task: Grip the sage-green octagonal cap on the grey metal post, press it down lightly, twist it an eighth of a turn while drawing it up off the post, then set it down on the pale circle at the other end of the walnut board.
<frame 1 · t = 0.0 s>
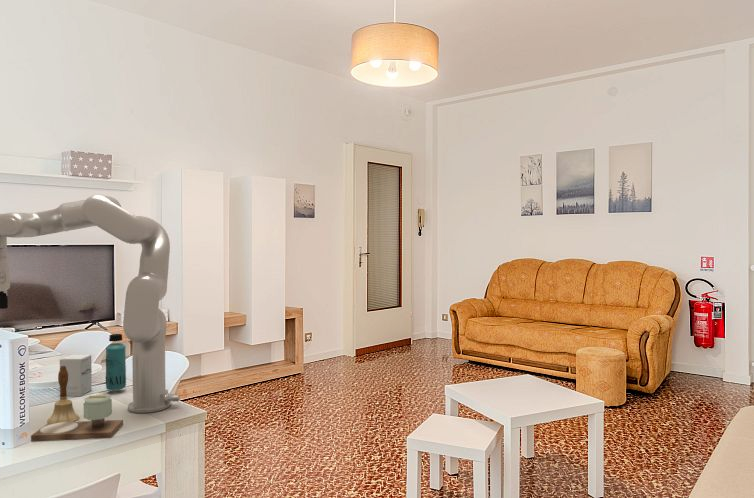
board: (78, 432, 153), on the table
supplement box: (76, 393, 190), on the table
cap: (97, 415, 153), point 4 cm above the table, touching post
post: (98, 431, 154), resting on board
hand bell: (63, 420, 163), on the table
beverage bottle: (116, 392, 192), on the table
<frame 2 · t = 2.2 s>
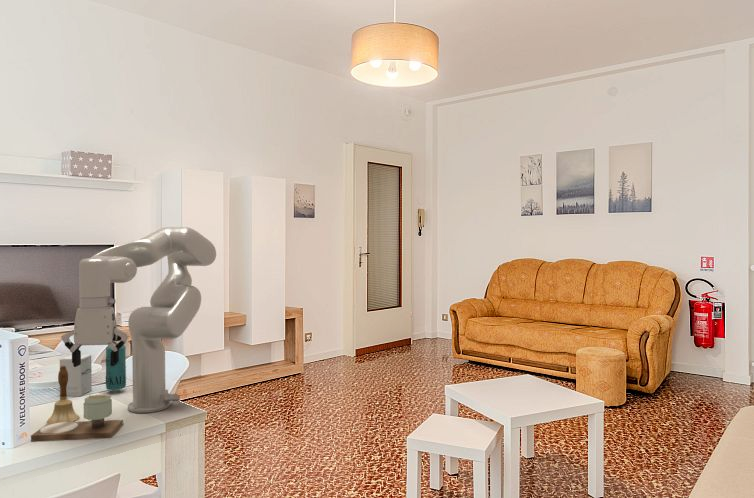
hand: (95, 365, 153), 18 cm above the table, tool pointing down, fingers open, 9 cm apart
nothing on the table moved.
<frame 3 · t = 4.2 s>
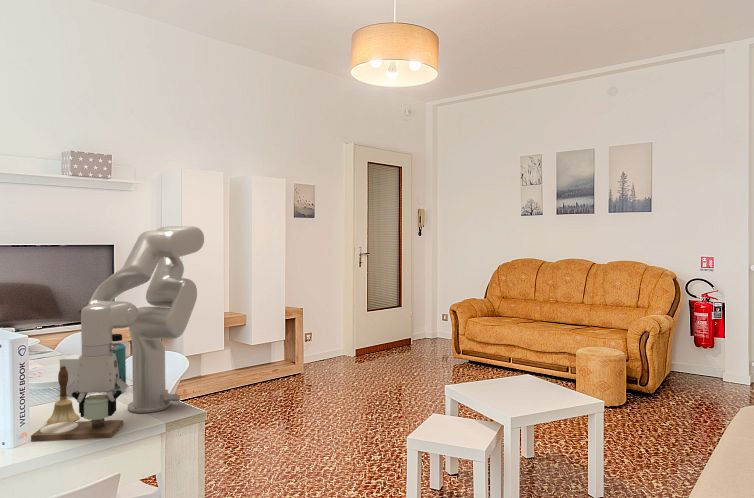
hand: (97, 414, 153), 5 cm above the table, tool pointing down, fingers closed on cap, 6 cm apart
cap: (97, 415, 153), point 5 cm above the table, touching gripper, post
everything else where it was.
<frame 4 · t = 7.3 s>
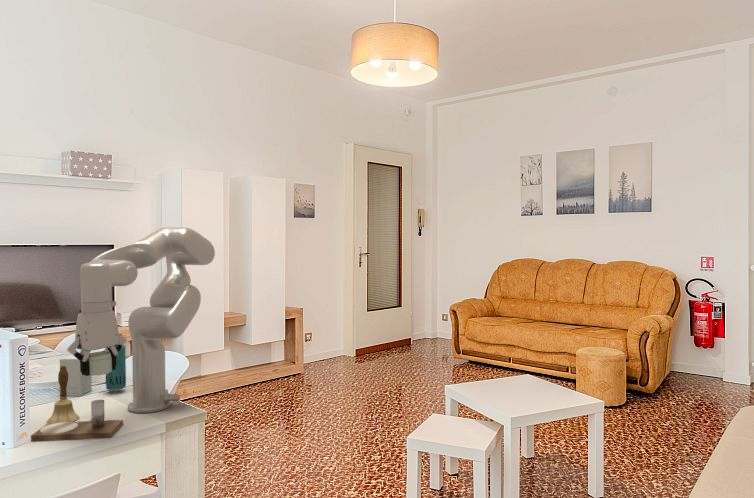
hand: (98, 371, 154), 17 cm above the table, tool pointing down, fingers closed on cap, 6 cm apart
cap: (98, 372, 154), point 16 cm above the table, touching gripper
everything else where it was.
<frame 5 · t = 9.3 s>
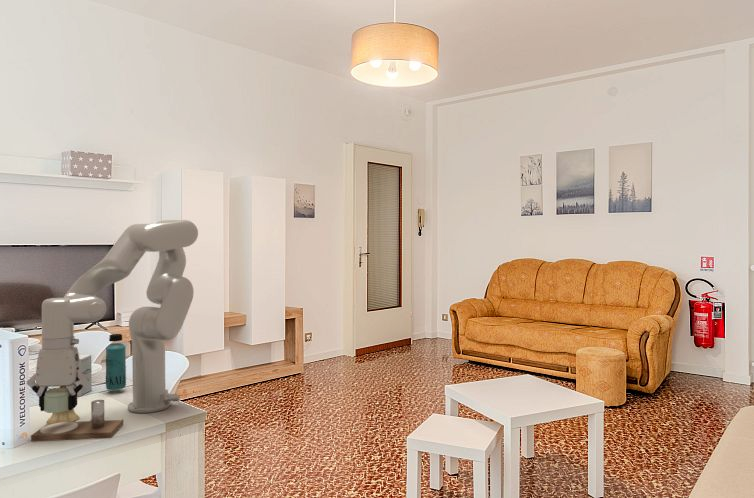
hand: (58, 408, 152), 7 cm above the table, tool pointing down, fingers closed on cap, 6 cm apart
cap: (58, 409, 152), point 7 cm above the table, touching gripper
everything else where it was.
when the fingers open (3 cm above the table, at t = 10.7 s): cap stays where it is, resting on board.
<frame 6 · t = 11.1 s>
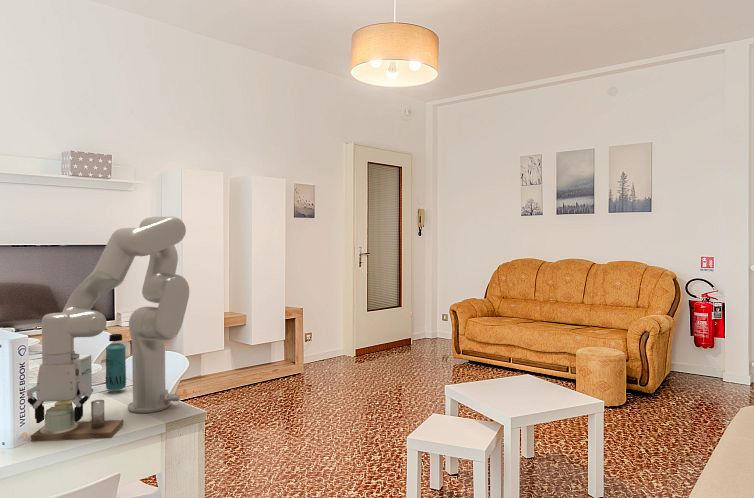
hand: (59, 420, 152), 4 cm above the table, tool pointing down, fingers open, 9 cm apart
cap: (59, 427, 152), point 2 cm above the table, touching board
everything else where it was.
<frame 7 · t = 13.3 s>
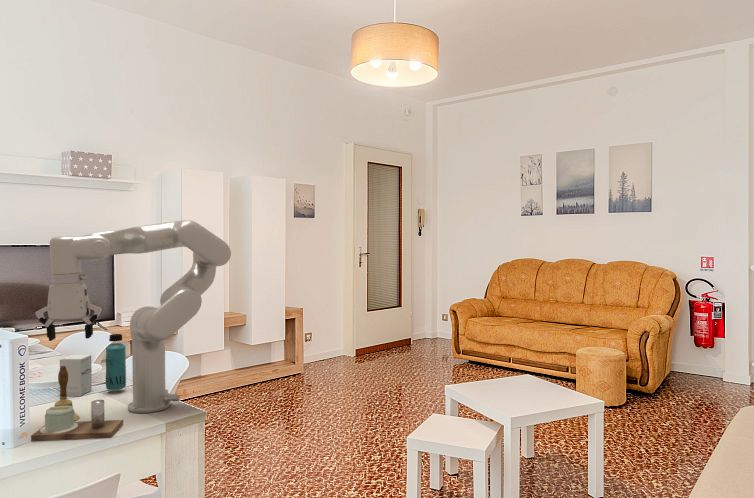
hand: (70, 338, 160), 24 cm above the table, tool pointing down, fingers open, 9 cm apart
nothing on the table moved.
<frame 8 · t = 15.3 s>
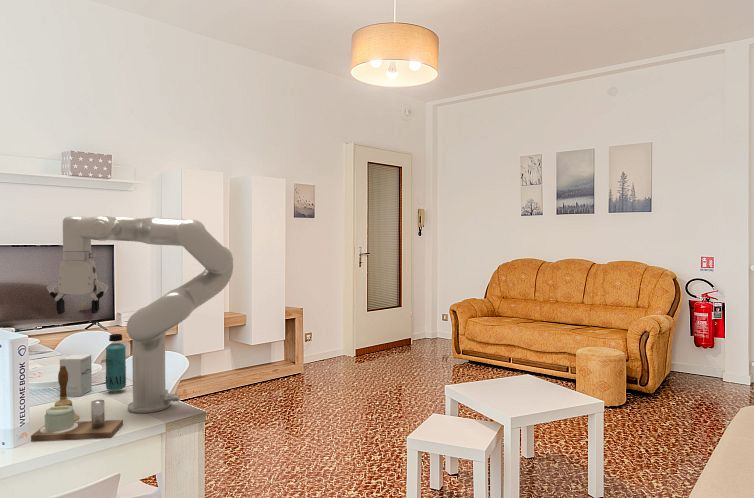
hand: (78, 313, 170), 30 cm above the table, tool pointing down, fingers open, 9 cm apart
nothing on the table moved.
at the end: cap 0.2 cm from the target spot on the board, point 1.7 cm above the board's base; cap tilted 0°; the gripper is holding nothing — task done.
